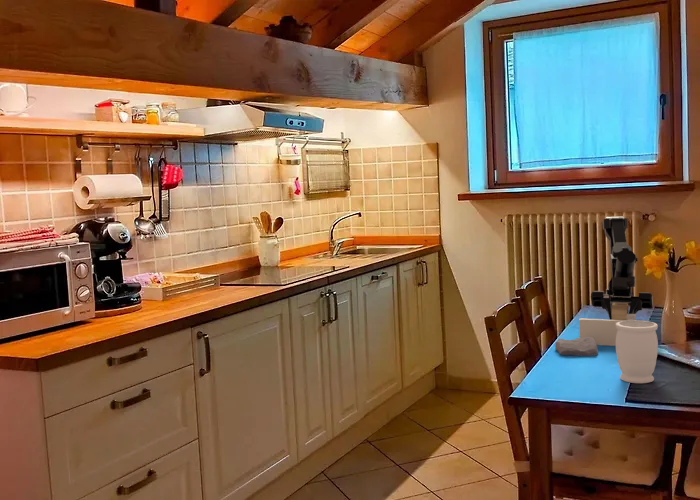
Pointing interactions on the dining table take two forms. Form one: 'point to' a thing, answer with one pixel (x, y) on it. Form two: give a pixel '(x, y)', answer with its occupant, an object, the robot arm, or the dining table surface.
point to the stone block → (577, 346)
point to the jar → (636, 350)
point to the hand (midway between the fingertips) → (619, 321)
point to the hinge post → (631, 316)
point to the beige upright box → (599, 330)
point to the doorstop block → (619, 311)
